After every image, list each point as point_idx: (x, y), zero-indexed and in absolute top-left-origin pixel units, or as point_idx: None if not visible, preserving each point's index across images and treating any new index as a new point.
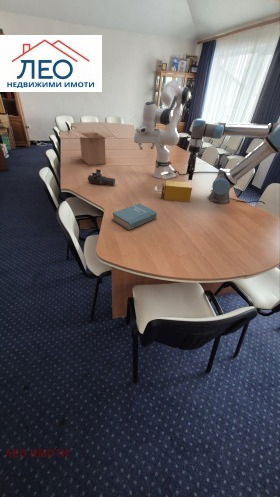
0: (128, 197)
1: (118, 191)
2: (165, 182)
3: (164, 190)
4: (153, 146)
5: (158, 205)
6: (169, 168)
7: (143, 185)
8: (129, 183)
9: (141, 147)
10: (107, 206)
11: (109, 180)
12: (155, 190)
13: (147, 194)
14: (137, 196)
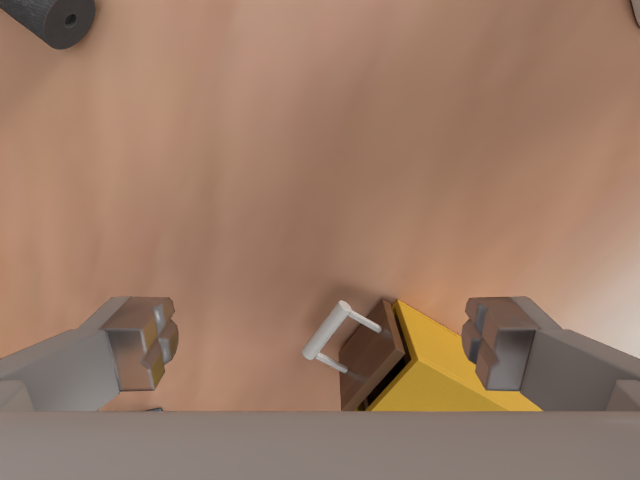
0: (153, 269)
1: (108, 158)
2: (396, 380)
3: (399, 319)
4: (552, 401)
5: (280, 399)
6: None
7: (348, 107)
8: (249, 13)
9: (118, 389)
10: (9, 329)
11: (9, 12)
12: (306, 357)
13: (291, 270)
14: (214, 275)
